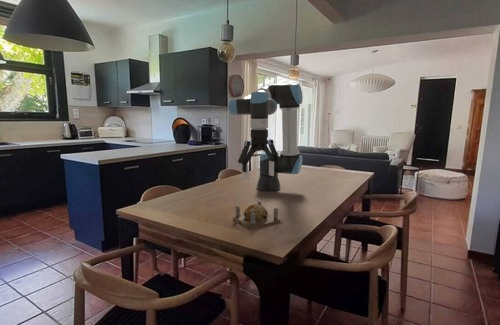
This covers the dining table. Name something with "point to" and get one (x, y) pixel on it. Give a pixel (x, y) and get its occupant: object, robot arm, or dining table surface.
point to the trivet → (252, 224)
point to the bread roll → (256, 212)
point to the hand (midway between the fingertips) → (259, 177)
